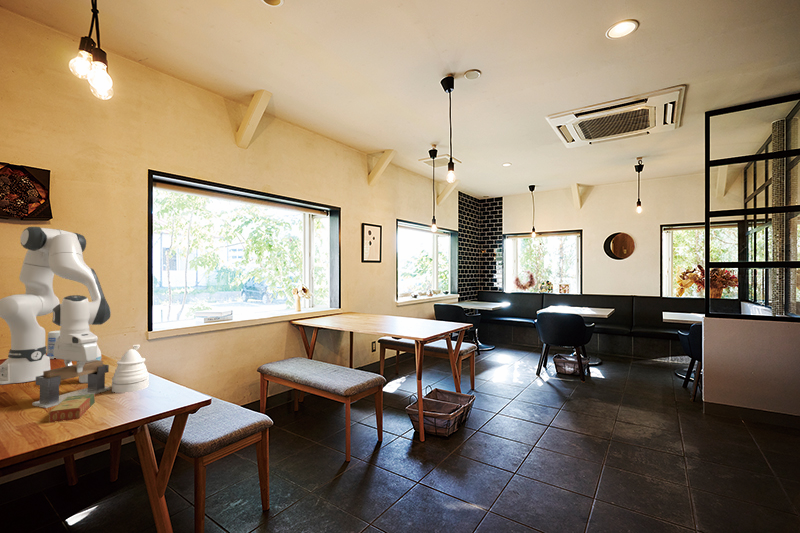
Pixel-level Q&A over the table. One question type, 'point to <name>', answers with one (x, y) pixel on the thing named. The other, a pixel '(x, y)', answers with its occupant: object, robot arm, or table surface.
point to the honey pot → (130, 373)
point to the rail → (73, 370)
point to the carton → (71, 408)
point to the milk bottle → (85, 377)
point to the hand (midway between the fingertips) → (74, 371)
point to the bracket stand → (52, 397)
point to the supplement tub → (52, 343)
